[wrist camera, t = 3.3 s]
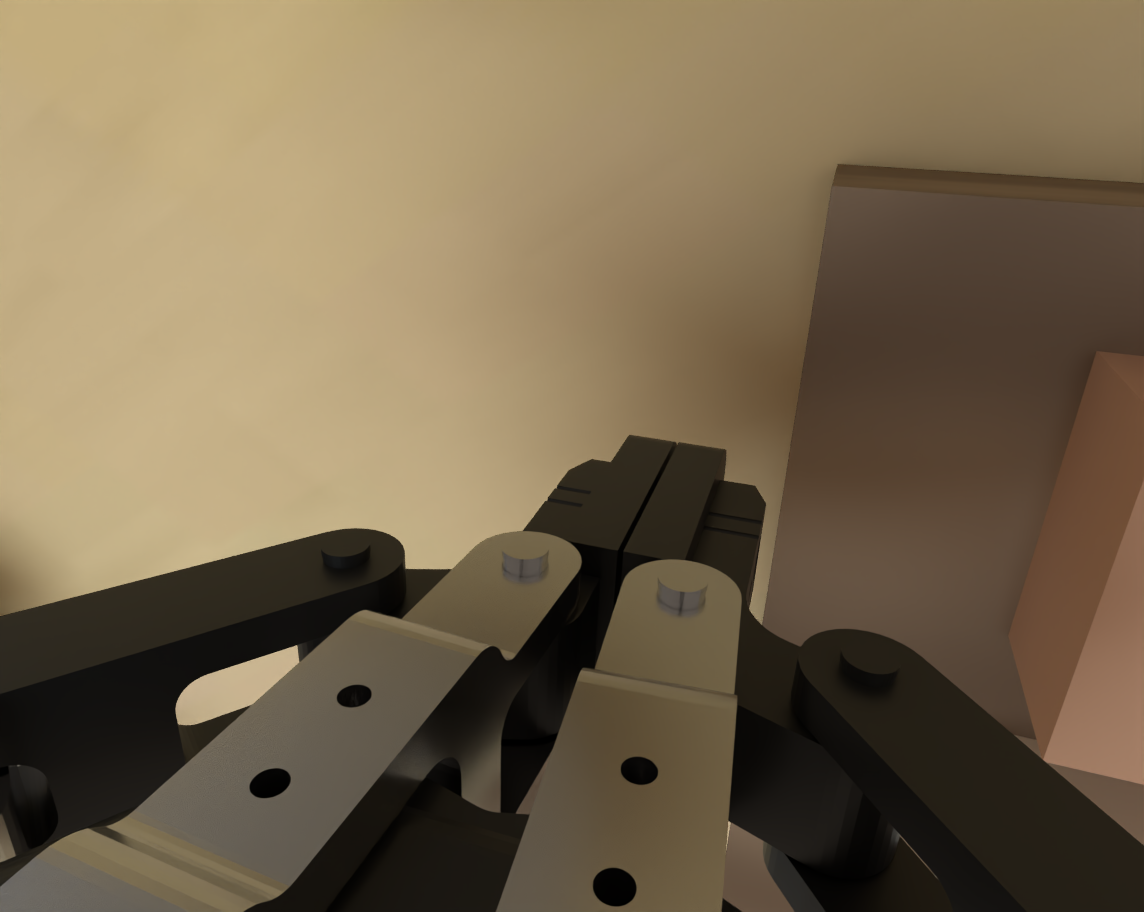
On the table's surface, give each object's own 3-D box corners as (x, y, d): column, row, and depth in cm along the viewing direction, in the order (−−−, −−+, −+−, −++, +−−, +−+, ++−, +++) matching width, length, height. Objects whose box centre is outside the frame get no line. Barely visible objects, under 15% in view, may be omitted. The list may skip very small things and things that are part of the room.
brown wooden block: (837, 164, 16) (831, 186, 12) (1663, 215, 12) (1974, 265, 9) (737, 792, 22) (714, 923, 19) (1259, 928, 19) (1349, 1116, 16)
